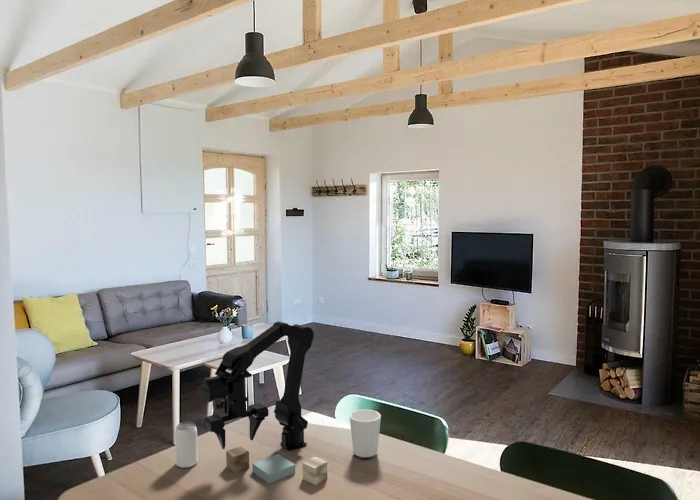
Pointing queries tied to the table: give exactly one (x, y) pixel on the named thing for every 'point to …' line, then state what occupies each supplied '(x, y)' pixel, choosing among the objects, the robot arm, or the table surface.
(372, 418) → the cup
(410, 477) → the table surface
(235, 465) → the walnut cube
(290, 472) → the base block
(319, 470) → the beech cube
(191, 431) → the can
